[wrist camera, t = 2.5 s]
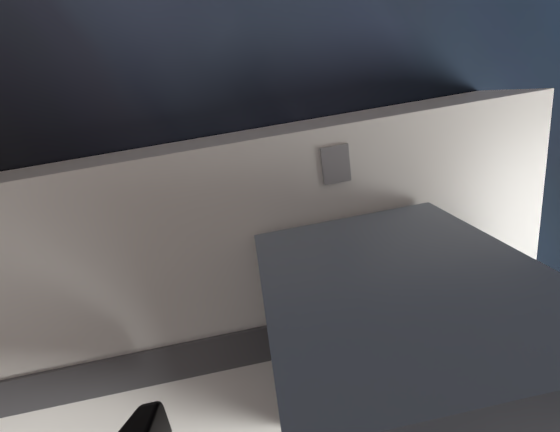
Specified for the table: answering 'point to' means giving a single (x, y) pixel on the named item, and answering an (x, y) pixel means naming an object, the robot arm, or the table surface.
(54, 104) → the table surface
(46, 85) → the table surface
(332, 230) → the fader tab
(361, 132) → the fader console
